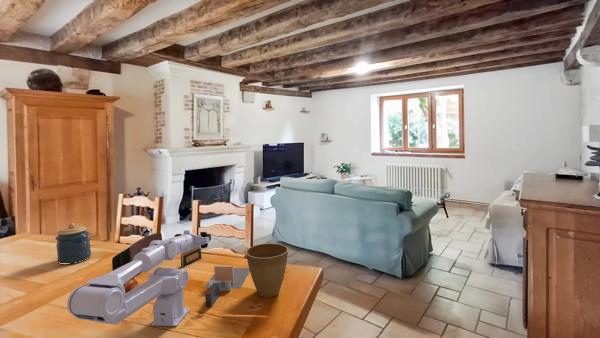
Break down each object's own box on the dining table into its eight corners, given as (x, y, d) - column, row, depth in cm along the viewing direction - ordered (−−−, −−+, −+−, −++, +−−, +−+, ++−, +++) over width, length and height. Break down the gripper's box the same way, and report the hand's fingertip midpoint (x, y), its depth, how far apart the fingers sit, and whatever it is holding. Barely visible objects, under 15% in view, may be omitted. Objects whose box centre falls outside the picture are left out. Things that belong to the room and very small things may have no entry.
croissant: (96, 300, 119) (84, 286, 115) (117, 278, 127) (106, 264, 123) (137, 310, 111) (125, 296, 106) (156, 286, 118) (146, 271, 114)
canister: (96, 257, 152) (93, 221, 150) (65, 267, 141) (61, 228, 139) (83, 252, 158) (80, 218, 156) (52, 261, 148) (48, 224, 146)
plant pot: (296, 288, 118) (295, 246, 116) (273, 307, 105) (271, 261, 103) (264, 279, 125) (263, 240, 123) (238, 296, 112) (236, 253, 111)
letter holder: (164, 259, 148) (162, 230, 147) (133, 278, 129) (130, 244, 127) (145, 258, 150) (143, 229, 149) (112, 276, 131) (109, 243, 130)
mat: (240, 289, 117) (240, 288, 117) (203, 288, 119) (203, 287, 119) (251, 269, 135) (251, 267, 135) (219, 268, 136) (219, 267, 136)
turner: (220, 308, 105) (219, 294, 104) (197, 308, 105) (196, 293, 105) (231, 291, 116) (230, 278, 116) (210, 290, 117) (209, 277, 117)
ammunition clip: (184, 267, 139) (182, 240, 137) (180, 266, 139) (179, 240, 138) (201, 258, 148) (200, 233, 147) (198, 257, 149) (197, 233, 148)
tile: (233, 284, 120) (232, 266, 120) (215, 284, 121) (214, 266, 120) (234, 282, 122) (233, 265, 121) (216, 282, 122) (215, 265, 122)
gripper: (199, 230, 104) (217, 225, 117) (159, 234, 107) (182, 228, 120) (200, 252, 103) (219, 244, 117) (160, 255, 106) (183, 247, 120)
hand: (200, 237), depth 118 cm, fingers open, 7 cm apart
